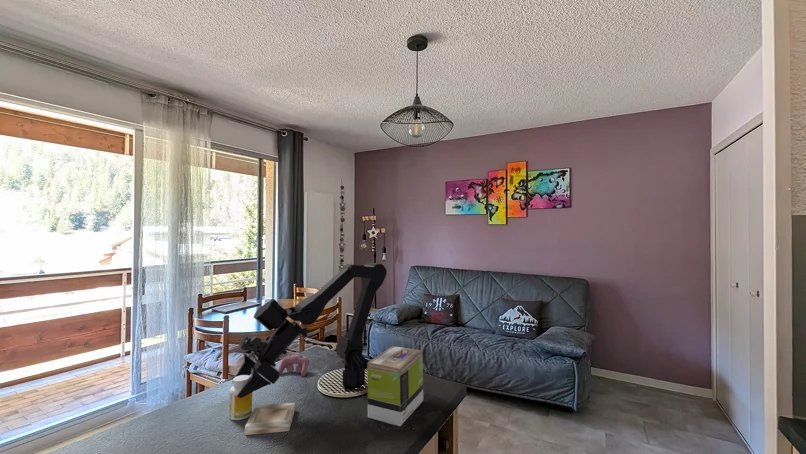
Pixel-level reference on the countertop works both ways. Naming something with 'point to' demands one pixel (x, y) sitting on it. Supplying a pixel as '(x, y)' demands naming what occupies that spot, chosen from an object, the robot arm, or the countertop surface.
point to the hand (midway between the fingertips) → (235, 390)
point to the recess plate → (270, 418)
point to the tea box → (395, 384)
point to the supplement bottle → (239, 400)
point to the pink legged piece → (294, 359)
